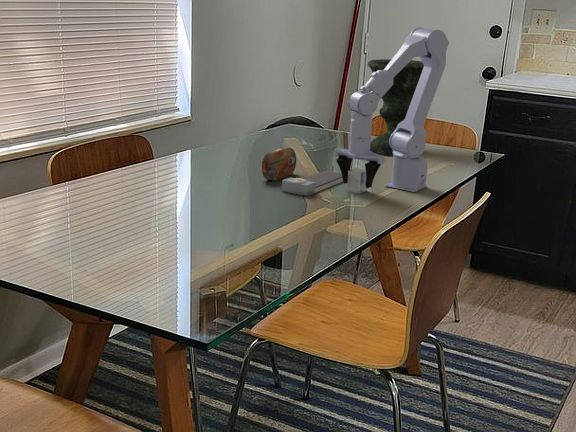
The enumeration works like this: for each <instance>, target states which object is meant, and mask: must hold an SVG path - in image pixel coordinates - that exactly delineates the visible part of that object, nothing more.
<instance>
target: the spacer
mask: <svg viewBox="0 0 576 432" xmlns="http://www.w3.org/2000/svg"><path fill="white" fill-rule="evenodd" d="M346 184H347V189H346V192H347V193H353V194H358V195H361V194H364V193H365V192H368V188H366V168H365V169H364V168H358V167H353V168H350V170H348V183H346Z"/></svg>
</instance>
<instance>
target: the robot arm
mask: <svg viewBox="0 0 576 432" xmlns="http://www.w3.org/2000/svg"><path fill="white" fill-rule="evenodd" d="M449 45H450V41H449V40H448V38H447V35H446V33H445V32H444V31H442V30H440V29H430V28H424V27H421V26H420V27H415V28H414V29H413V30H412V31H411V32H410V34H408V35H407V36H406V37H405V40H404V43H403V44H402V46H401V47H400V48H399V50H398V51H397V52H396V53H395V54H394V56H393V57H392V58H391V59H392V60H391V61H390V62H389V64H388V65H387V66H386V67H385V69H384V70H377V71H376V72H373V73H371V74H370V76H371V77H370V78H369V80H367V81H366V83H364V85H363V86H360V88H359V90H358V91H355V92H353V93H352V94H351V95H350V97H349V100H348V101H347V102H346V103H347V107H348V110H349V111H350V128H349V141H348V142H349V143H348V145H349V146H348V148H342V147H341V148H340V147H338V148H335V149H334V157H338V158H336V164H337V165H338V167H339V170H340V173H342V178H343V184H344V185H345V184H348V170H351V169H352V162H353V160H358V161H359V160H360V161H364V162H367V163H364V166H365V167H364V168H365V170H366V188H367V189H369V188H372V186H373V183H374V180H375V176H376V174H377V172H378V170H379V169H380V168H381V166H382V165H383V164H384V163H385V160H386V159H385V157H386V155H382V154H378V153H375V152H372V151H371V150H370V143H371V141H372V140H371V139H372V128H373V127H372V126H373V124H372V123H373V114H374V113H375V112H376V111H377V109H378V106H379V102H380V100H381V99H382V97H383V96H384V94H385V93H386V92H387V91H388V90H389V89H390V88H391V86H392V85H393V78H394V77H395V76H396V75H397V74H398V73H399V72H400V71H401V70H402V69H403V68H404V67H405V66H406V65H407V64H408V63H409V62H410V61H411V60H413V59H414V58H418V57H420V61H422V62H423V64H424V68H423V70H422V73H421V76H420V79H419V82H418V84H417V87H416V90H415V93H414V95H413V98H412V101H411V104H410V106H409V109H408V112H407V115H406V117H405V119H404V120H403V121H402V122H400V123H399V124H398V125H397V128H396V130H395V131H394V132H393V133H392V135H391V136H390V139H389V144H390V147H391V148H392V149H393V156H392V165H391V166H392V167H391V178H390V179H391V180H390V182H388V183H385V185H384V186H385V187H388V188H393V189H398V190H403V191H408V192H414V193H416V192H419V191H420V190H423V189H425V188H426V187H427V186H428V185H427V175H428V174H427V173H428V162H427V160H426V159H424V158H421V155H423V153H424V151H425V149H426V138H427V136H428V134H427V130H426V129H425V127H424V126H425V122H426V120H427V117H428V115H429V111H430V109H431V107H432V104H433V101H434V99H435V98H434V97H435V95H436V93H437V89H438V87H439V84H440V82H441V79H442V76H443V73H444V71H445V68H446V65H447V49H448V48H449Z"/></svg>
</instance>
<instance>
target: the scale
mask: <svg viewBox="0 0 576 432" xmlns="http://www.w3.org/2000/svg"><path fill="white" fill-rule="evenodd" d="M281 181H282V182H281V191H282V192H285V193H290V194H293V195H294V194H295V195H299V196H303V195H306V196H305V197H308V196H311V195H314V194H315V193H318V192H320V191H323V190H326V189H328V188H331V187H333V186H336V185H338V184H340V183H342V182H343V178H342V173H341V172H336V171H330V170H323V171H320V172H318V173H315V174H311V175H309V176H306V177H304V178H301V177H296V178H295V177H286V178H284V179H282V180H281ZM307 195H308V196H307Z"/></svg>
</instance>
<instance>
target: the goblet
mask: <svg viewBox="0 0 576 432" xmlns="http://www.w3.org/2000/svg"><path fill="white" fill-rule="evenodd" d="M391 60H392V58H391V59H389V58H388V59H387V58H386V59H384V58H383V59H371V60H369V61H368V62H367V66H368V67H369V68H370V71H371V72H372V73H373V72H376V71H377V70H384V69H385V67H386V66H387V65H388V64H389V62H390V61H391ZM423 68H424V64H423V62H422V60H413V59H412V60H411V61H410V62H409V63H408V64H407V65H406V66H405V67H404V68H403V69H402V70H401V71H400V72H399V73H398V74H397V75H396V76H395V77H394V78H393V85H392V86H391V88H390V89H389V90H388V91H387V92H386V93H385V94H384V96H383V97H382V98H381V99H382V102H383V104H382V106H381V107H380V109H379V116H380V117H381V118H382V119H383V120H384V122H385V123H386V131H385V132H384V133H383V134H382V135H379V136H377V137H375V138H374V139H372V140H371V143H370V152H372V153H375V154H378V155H382V156H388V157H393V149H392V148H391V147H390V144H389V139H390V136H391V135H392V133H393V132H394V131H395V130H396V128H397V125H398V124H399V123H400V122H402V121H403V120H404V119H405V117H406V115H407V112H408V109H409V106H410V104H411V101H412V98H413V95H414V93H415V90H416V87H417V84H418V82H419V79H420V76H421V73H422V70H423ZM372 73H371V74H372Z"/></svg>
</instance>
